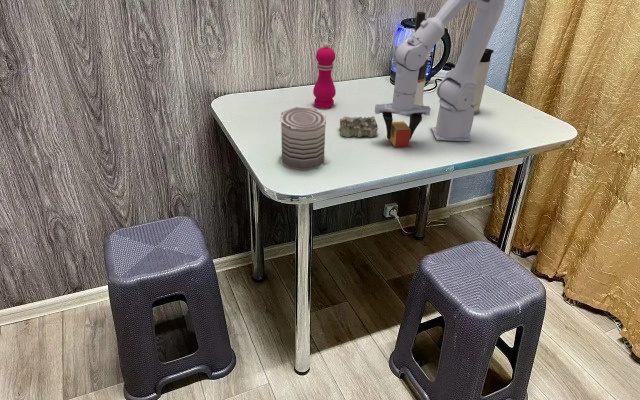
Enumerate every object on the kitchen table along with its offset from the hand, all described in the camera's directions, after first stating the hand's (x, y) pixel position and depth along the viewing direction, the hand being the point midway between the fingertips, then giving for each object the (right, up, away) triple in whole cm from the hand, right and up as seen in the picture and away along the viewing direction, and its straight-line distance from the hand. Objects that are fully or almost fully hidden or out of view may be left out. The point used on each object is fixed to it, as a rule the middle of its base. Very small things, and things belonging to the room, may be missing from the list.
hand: (398, 138), depth 131 cm
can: (-26, -7, -9) cm, 29 cm away
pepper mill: (-21, +14, +23) cm, 33 cm away
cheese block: (0, -1, +1) cm, 1 cm away
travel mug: (+26, +11, +22) cm, 36 cm away
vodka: (+6, +12, +21) cm, 25 cm away
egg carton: (-11, +2, +6) cm, 13 cm away
